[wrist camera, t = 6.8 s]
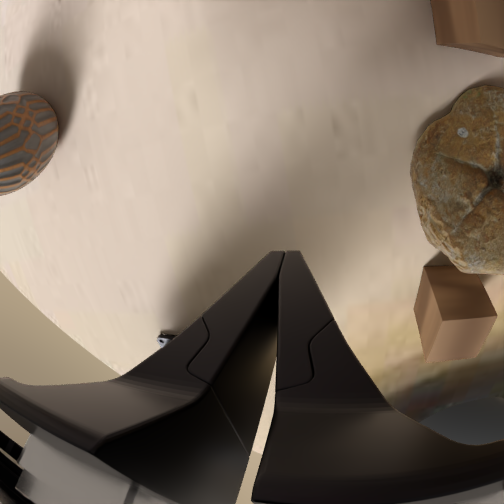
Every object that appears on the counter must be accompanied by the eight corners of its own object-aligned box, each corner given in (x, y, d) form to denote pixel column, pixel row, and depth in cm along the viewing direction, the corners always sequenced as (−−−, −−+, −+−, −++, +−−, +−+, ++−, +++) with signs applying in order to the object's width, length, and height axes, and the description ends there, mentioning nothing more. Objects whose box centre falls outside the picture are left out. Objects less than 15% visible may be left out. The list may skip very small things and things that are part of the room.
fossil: (598, 168, 6) (495, 319, 10) (573, 188, 10) (484, 309, 14) (474, 57, 11) (371, 185, 14) (474, 96, 14) (388, 203, 18)
